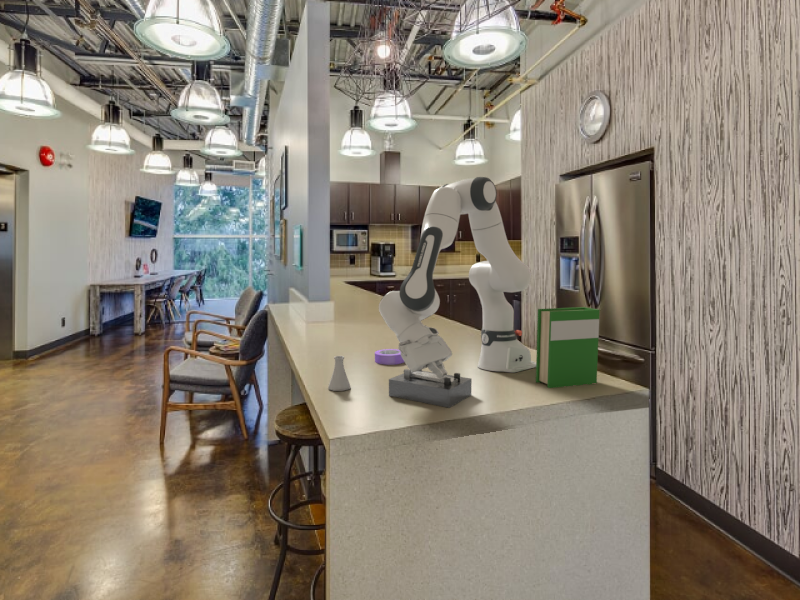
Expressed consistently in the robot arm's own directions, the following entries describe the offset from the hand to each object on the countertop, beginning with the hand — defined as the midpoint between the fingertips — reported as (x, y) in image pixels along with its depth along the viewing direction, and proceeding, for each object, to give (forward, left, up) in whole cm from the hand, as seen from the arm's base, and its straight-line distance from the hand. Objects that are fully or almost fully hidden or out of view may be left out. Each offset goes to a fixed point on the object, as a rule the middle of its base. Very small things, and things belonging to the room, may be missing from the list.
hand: (443, 376), depth 137 cm
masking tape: (-8, -50, -7) cm, 51 cm away
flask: (+23, -24, -7) cm, 34 cm away
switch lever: (+2, -4, -2) cm, 4 cm away
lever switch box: (+2, -4, -7) cm, 8 cm away
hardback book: (-44, +5, -7) cm, 45 cm away
